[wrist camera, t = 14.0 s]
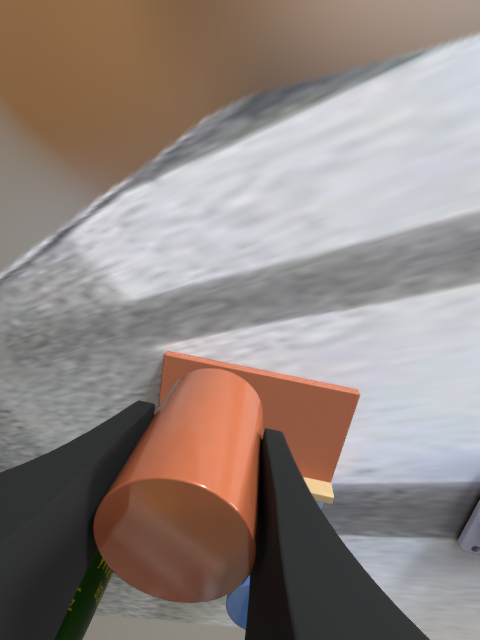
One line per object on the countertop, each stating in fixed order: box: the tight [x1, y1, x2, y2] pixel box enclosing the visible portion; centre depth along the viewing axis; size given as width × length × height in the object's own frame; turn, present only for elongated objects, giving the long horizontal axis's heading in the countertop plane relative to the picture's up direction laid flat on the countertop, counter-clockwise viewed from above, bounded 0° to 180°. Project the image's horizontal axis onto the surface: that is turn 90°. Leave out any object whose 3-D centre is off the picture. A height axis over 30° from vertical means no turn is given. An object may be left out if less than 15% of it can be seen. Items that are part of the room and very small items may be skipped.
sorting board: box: [158, 351, 360, 510], centre depth 21 cm, size 12×14×2 cm
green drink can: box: [54, 548, 113, 640], centre depth 20 cm, size 5×5×12 cm
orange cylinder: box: [93, 368, 263, 603], centre depth 10 cm, size 4×4×6 cm
